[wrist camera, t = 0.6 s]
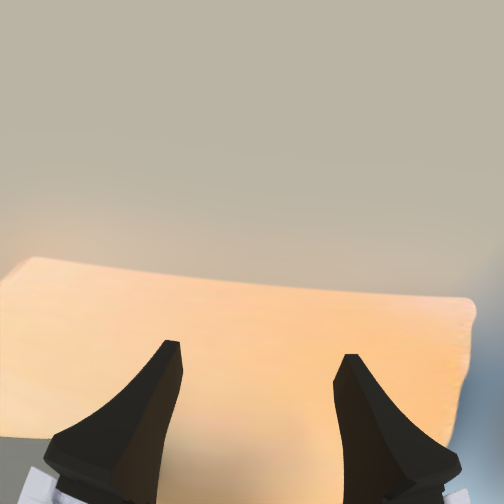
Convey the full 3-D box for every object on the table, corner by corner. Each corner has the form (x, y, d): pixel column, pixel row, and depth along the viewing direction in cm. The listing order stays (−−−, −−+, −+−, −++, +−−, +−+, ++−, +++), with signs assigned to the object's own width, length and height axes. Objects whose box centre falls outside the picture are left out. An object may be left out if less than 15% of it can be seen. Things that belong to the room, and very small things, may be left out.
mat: (91, 437, 20) (90, 437, 20) (122, 528, 15) (121, 529, 15) (-25, 433, 15) (-26, 433, 14) (-2, 515, 10) (-4, 516, 9)
